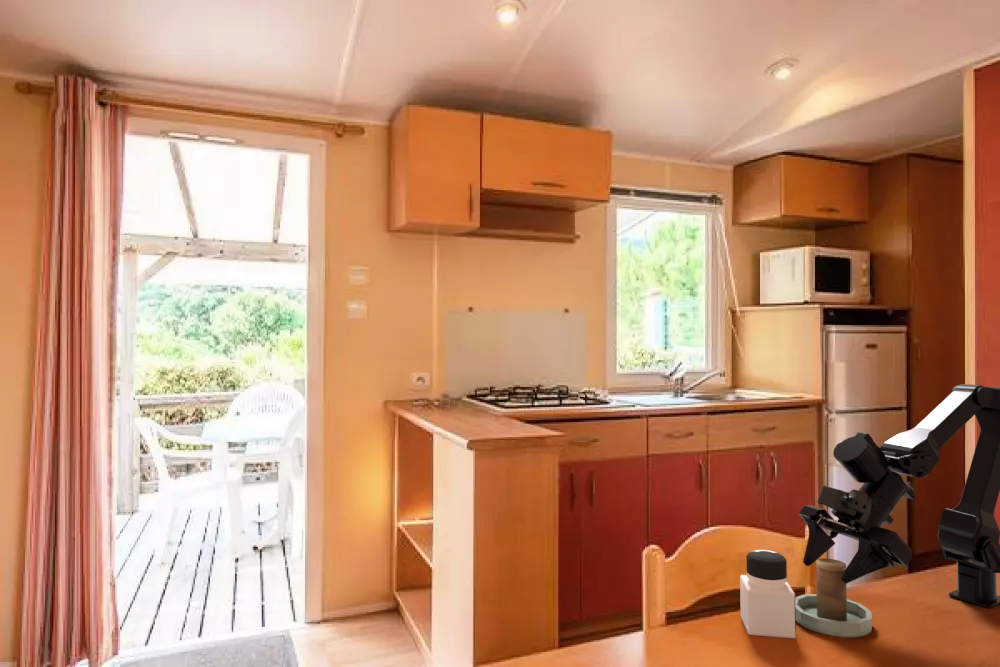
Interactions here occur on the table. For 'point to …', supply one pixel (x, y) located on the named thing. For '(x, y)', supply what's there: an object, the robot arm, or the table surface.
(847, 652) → the table surface
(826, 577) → the spice jar
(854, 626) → the dish
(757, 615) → the medicine bottle
